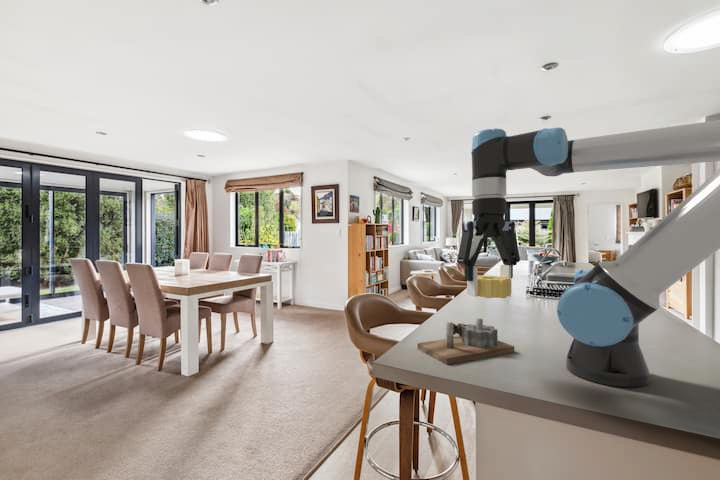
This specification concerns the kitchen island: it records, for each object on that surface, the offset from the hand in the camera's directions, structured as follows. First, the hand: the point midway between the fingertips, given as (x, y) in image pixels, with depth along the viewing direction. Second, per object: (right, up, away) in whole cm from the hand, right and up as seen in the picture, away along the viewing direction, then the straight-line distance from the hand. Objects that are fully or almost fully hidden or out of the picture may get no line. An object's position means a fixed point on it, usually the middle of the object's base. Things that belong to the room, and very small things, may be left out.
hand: (489, 293), depth 81 cm
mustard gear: (0, 0, 0) cm, 0 cm away
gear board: (-2, -17, +13) cm, 22 cm away
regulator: (+3, -18, +26) cm, 32 cm away
